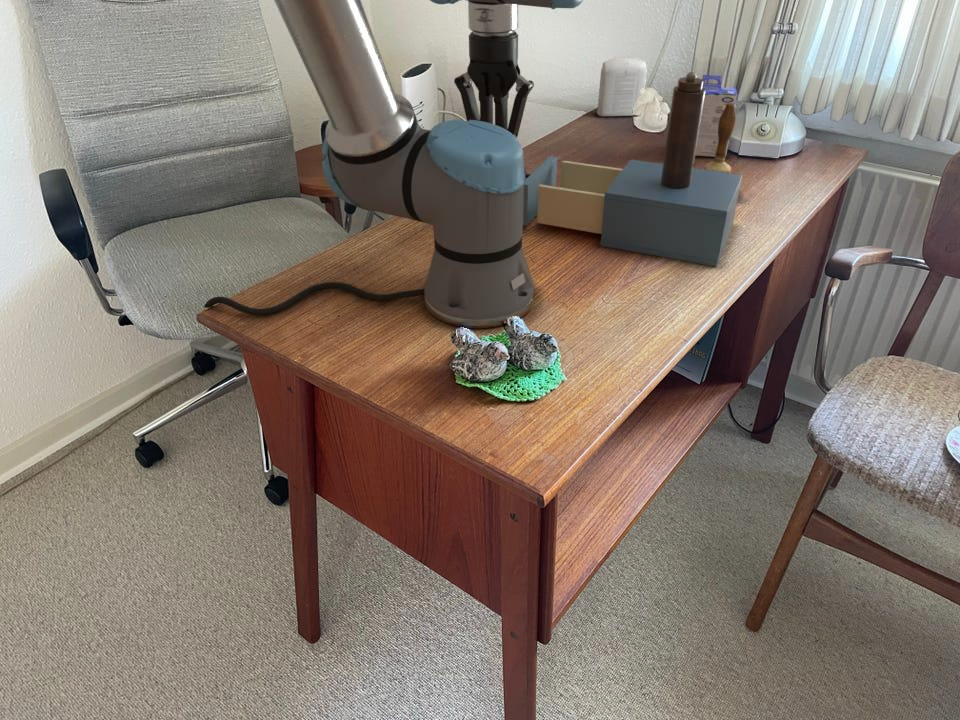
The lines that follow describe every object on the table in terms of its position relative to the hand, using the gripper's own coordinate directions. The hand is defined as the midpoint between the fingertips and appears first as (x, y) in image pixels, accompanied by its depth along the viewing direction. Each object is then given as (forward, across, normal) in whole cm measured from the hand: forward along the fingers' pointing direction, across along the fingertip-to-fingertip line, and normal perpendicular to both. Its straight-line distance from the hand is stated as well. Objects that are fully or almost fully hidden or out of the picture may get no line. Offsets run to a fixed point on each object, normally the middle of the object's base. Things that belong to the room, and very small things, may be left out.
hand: (494, 180), depth 123 cm
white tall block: (+5, +7, +58) cm, 58 cm away
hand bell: (+5, +34, +19) cm, 39 cm away
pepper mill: (-4, +30, 0) cm, 30 cm away
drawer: (+4, +14, 0) cm, 14 cm away
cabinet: (+5, +30, 0) cm, 30 cm away
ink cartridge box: (+5, +28, +40) cm, 49 cm away
